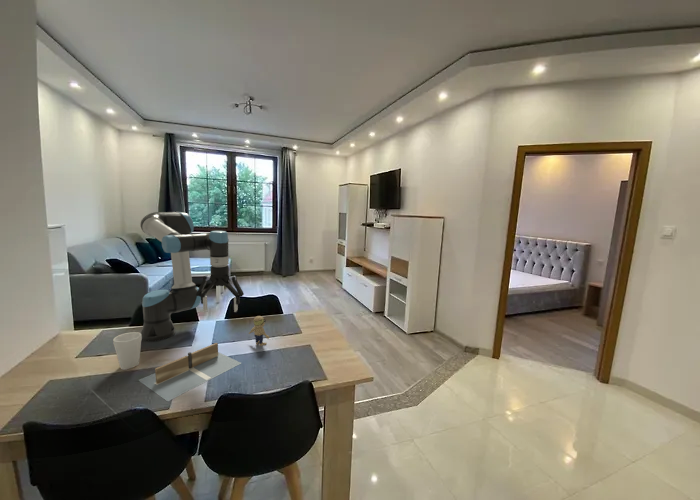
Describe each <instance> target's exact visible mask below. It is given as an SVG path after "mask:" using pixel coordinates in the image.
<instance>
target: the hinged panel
mask: <svg viewBox="0 0 700 500" xmlns="http://www.w3.org/2000/svg"><path fill="white" fill-rule="evenodd" d="M218 352H219V343H218V342H214V343H212V344H210V345H208V346H204V347H203V348H200V349H198V350H195V351H193V352H191V351H190V352H188V353H187V356H188V364H189V368H192V367H195V366H197V365H199V364H201V363H203V362H206V361H208V360H210V359H212V358H214V357H217V356H218Z"/></svg>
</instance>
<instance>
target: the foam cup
mask: <svg viewBox="0 0 700 500" xmlns="http://www.w3.org/2000/svg"><path fill="white" fill-rule="evenodd" d="M142 341H143V340H142V334H141V332H137V331H136V332H135V331H134V332H133V331H132V332H126V333H122V334H119V335H117V336H115V337H114V338H113V339H112V342H113V346H114V349H115V353H116V357H117V360H118V364H119V367H120V369H121V370H123V371H127V370H129V369H133V368H134V367H137V366H139V365H140V357H141V347H142Z"/></svg>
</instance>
